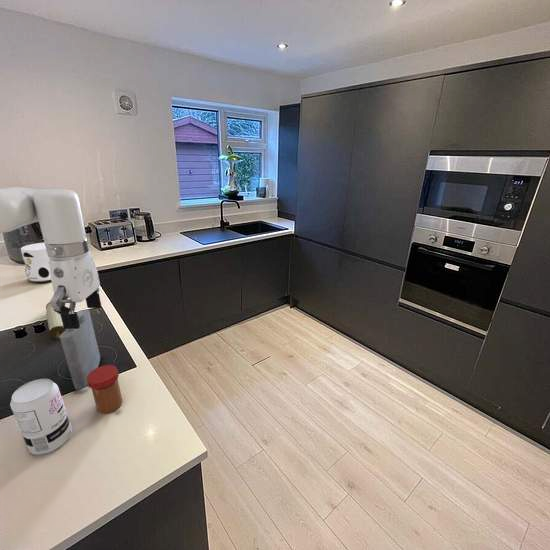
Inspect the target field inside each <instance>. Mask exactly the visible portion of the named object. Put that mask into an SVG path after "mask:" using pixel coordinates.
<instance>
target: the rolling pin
mask: <svg viewBox="0 0 550 550" xmlns="http://www.w3.org/2000/svg"><path fill="white" fill-rule="evenodd" d="M45 309H46V321H47V327H48V330H49V331H48V335H49V337H50V338H51V339H54V340H60V337H59V336H60V335H61V334H62V333H63V332H64V331H65V330H66V329H65V328H64V327H63V323H62V319H61V316H60V314H58V313H57V312H55V311H54V309H53V308H52V307H51V305H50V301H49V302H47V304H46V305H45Z"/></svg>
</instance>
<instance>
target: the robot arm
mask: <svg viewBox="0 0 550 550" xmlns="http://www.w3.org/2000/svg"><path fill="white" fill-rule="evenodd" d="M83 218H84V217H83V213H82V208H81V203H80V199H79V196H78V194H77V193H76V192H75V191H74V190H72V189H66V188H44V189H41V188H40V189H37V188H31V187H24V186H10V187H2V188H0V234H5V233H11V232H13V231H15V230H18V229H20V228H22V227H25V226H28V225H31V224H35V223H38V224H39V228H40V231H41V234H42V238H43V243H45V247H46V250H47V254H48V258H49V266H50V275H51V281H50V282H51V285H52V290H53V295H52V297H51V298H50V301H49V302H50V305H51V307H52V308H53V309H54V311H55V312H57V313H58V314H60V316H61V319H62V323H63V327H64V328H65V329H78V328H79V327H80V324H79V319H78V315H77V312H78V311H75V310H76V306H77V305H76V304H77V303H82V302H83V301H85V303H86V307H87V309H101V308H102V302H101V296H100V286H101V282H100V277H99V274H100V273H99V271H98V269H97V266H96V262H95V260H94V256H93V255H92V252H91V250H90V248H89V247H90V246H89V242H88V238H87V232H86V229H85V223H84V219H83ZM66 304H69V306H66Z"/></svg>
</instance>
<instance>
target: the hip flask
mask: <svg viewBox="0 0 550 550" xmlns="http://www.w3.org/2000/svg"><path fill="white" fill-rule="evenodd" d="M76 312H77V315H78V319H79V324H80V327H79V328H78V329H66V330H65V331H64V332H63V333H62V334H61V335H60V336H59V337H60V339H59V340H60V343H61V346H62V350H63V353H64V356H65V357H64V358H65V360H66V364H67V366H68V370H69V373H70V377H71V381H72V384H73V387H74V389H75V390H76V391H80V390H81V391H82V390H83V389H85V388H87V386H88V383H87V376H88V374H89V373H90V372H91V371H93V370H94V369H96V368H98V367H99V365H100V361H101V354H100V350H99V346H98V341H97V338H96V333H95V329H94V326H93V321H92V318H91V312H90V310H89V309H88V308H86V309H80V310H78V311H76Z"/></svg>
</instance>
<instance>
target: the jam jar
mask: <svg viewBox="0 0 550 550" xmlns="http://www.w3.org/2000/svg"><path fill="white" fill-rule="evenodd" d="M119 383H120V382H119V378H118V379H117V380H116V381H115V382H114V383H113V384H112V385H110V386H108V387H105V388H102V389H92V388H90V389H91V392H92V395H93V399H94V403H95V407H96V410H97V412H98V413H99V414H102V415H107V414H108V415H109V414H111V413H113V412H116V411H117V410H118V409H119V408H120V407H121V406H122V404H123V396H122V392H121V387H120V384H119Z"/></svg>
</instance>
